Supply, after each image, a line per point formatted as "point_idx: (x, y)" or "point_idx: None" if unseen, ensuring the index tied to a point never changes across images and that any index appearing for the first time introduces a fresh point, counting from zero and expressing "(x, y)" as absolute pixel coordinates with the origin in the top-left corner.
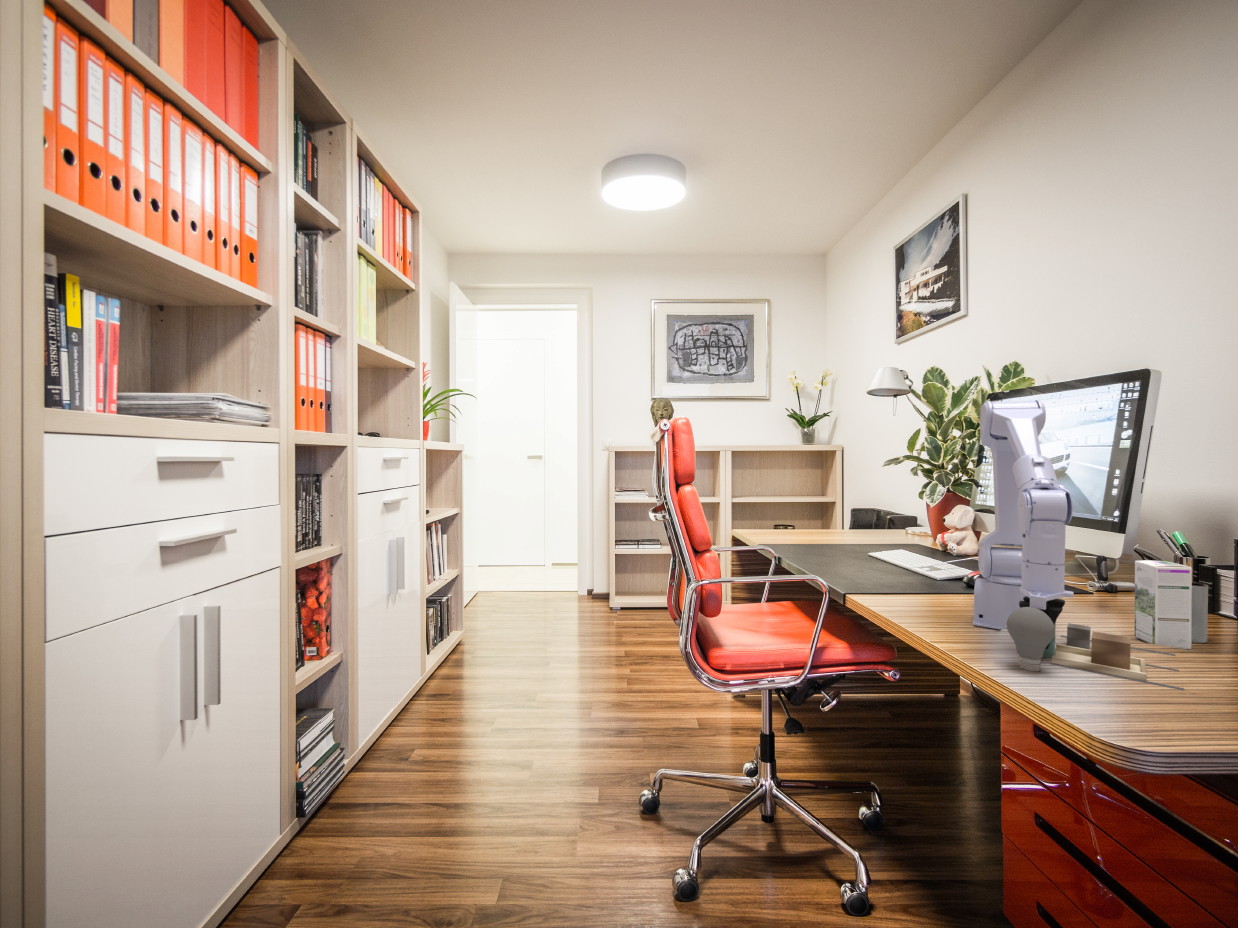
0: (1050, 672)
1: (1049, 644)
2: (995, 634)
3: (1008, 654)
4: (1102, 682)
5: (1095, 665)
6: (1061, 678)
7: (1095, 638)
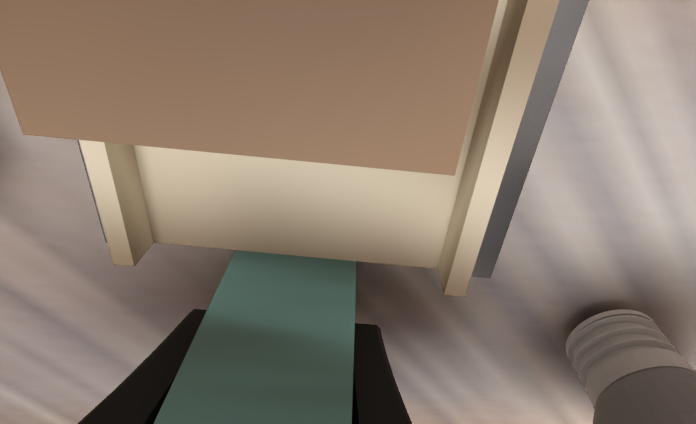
0: (551, 260)
1: (382, 345)
2: (40, 410)
3: None
4: (647, 18)
5: (536, 68)
6: (644, 223)
7: (460, 132)
